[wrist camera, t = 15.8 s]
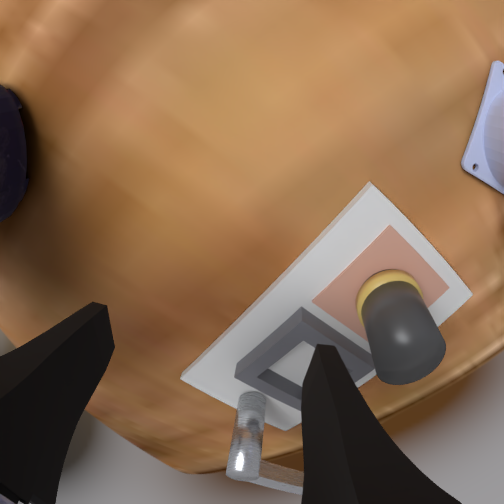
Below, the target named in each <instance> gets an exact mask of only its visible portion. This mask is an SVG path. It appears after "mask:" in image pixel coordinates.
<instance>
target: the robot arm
mask: <svg viewBox="0 0 504 504" xmlns="http://www.w3.org/2000/svg"><path fill="white" fill-rule="evenodd" d="M503 70H504V64H503V63H502V62H500V61H493V62H492V65H491V69H490V73H489V77H488V81H487V84H486V88H485V92H484V95H483V99H482V102H481V105H480V109H479V112H478V115H477V118H476V121H475V124H474V127H473V130H472V133H471V136H470V139H469V142H468V144H467V147H466V150H465V153H464V155H463V158H462V161H461V166H462V168H463V169H464V170H465V171H467V172H469V173H470V174H472V175H474V176H475V177H477V178H479V179H480V180H482V181H484V182H485V183H487V184H488V185H490V186H492V187H493V188H495V189H496V190H498V191H499V192H501V193H502V194H504V74H503ZM474 164H475V165H476V167H475V169H474V170H473V169H472V167H473V165H474ZM114 348H115V345H114V340H113V335H112V330H111V325H110V320H109V314H108V308H107V305H103V304H99V303H95V302H92V303H90V304H88V305H87V306H85V307H83V308H82V309H80V310H79V311H77V312H75V313H74V314H72V315H71V316H69V317H68V318H66V319H65V320H63V321H62V322H60V323H58V324H57V325H55V326H54V327H52V328H51V329H49V330H48V331H46V332H44V333H43V334H41V335H39V336H38V337H36V338H34V339H33V340H31V341H29V342H28V343H26V344H24V345H22V346H21V347H19V348H17V349H15V350H13V351H11V352H9V353H7V354H5V355H2V356H0V504H18V501H20V502H22V503H24V504H29V502H30V503H31V504H55V503H56V496H57V491H58V485H59V480H60V476H61V472H62V468H63V464H64V460H65V457H66V454H67V451H68V447H69V444H70V441H71V439H72V436H73V433H74V430H75V428H76V425H77V423H78V421H79V419H80V416H81V415H82V413H83V411H84V409H85V407H86V405H87V404H88V402H89V400H90V398H91V396H92V394H93V393H94V391H95V389H96V387H97V385H98V384H99V382H100V380H101V378H102V376H103V374H104V373H105V371H106V368H107V366H108V364H109V361H110V359H111V356H112V353H113V351H114ZM301 419H302V437H303V455H304V480H303V492H302V503H301V504H462V503H460V502H459V501H458V500H456V499H455V498H454V497H452V496H451V495H449V494H448V493H446V492H445V491H444V490H442V489H441V488H440V487H439V486H437V485H436V484H435V483H433V481H431V480H430V479H429V478H428V477H427V476H426V475H425V474H423V473H422V472H421V471H420V470H419V469H418V468H417V467H416V466H415V465H414V464H413V463H412V462H411V461H410V459H408V457H407V456H406V455H405V454H403V452H402V451H401V450H400V449H399V448H398V446H397V445H396V444H395V443H394V442H393V440H392V439H391V438H390V437H389V435H388V434H387V433H386V431H385V430H384V429H383V427H382V426H381V424H380V423H379V422H378V420H377V419H376V417H375V416H374V414H373V413H372V411H371V410H370V408H369V406H368V405H367V403H366V402H365V400H364V398H363V397H362V395H361V393H360V391H359V390H358V388H357V386H356V385H355V383H354V381H353V379H352V377H351V375H350V373H349V372H348V370H347V368H346V366H345V364H344V362H343V360H342V358H341V356H340V354H339V352H338V350H337V348H336V347H335V346H333V345H324V344H317V345H316V348H315V350H314V353H313V356H312V359H311V362H310V364H309V367H308V370H307V372H306V375H305V378H304V380H303V384H302V400H301Z"/></svg>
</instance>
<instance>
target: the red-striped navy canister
mask: <svg viewBox="0 0 504 504" xmlns="http://www.w3.org/2000/svg"><path fill="white" fill-rule="evenodd" d="M19 108H22V106H21V104H20V102H19V100H18V98H17V97H16V95H15V94H14V93H13V92H12V91H11V89H7V90H6V89H5V88H4V87H3V86H2V85H0V222H1V221H3V220H5V219H6V218H8V217H9V216H11V214H12V213H13V212H14V210H15V209H16V208H17V206H18V204H19V202H20V201H22V199H23V196H24V194H25V192H26V189H27V185H28V181H29V178H28V179H26V169H27V150H26V139H25V133H24V127H23V123H22V120H21V116H20V113H19V110H18V109H19Z"/></svg>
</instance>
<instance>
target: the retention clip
mask: <svg viewBox="0 0 504 504" xmlns="http://www.w3.org/2000/svg"><path fill="white" fill-rule="evenodd" d="M265 410H266V398H265V397H264V396H262V395H261V394H258V393H254V392H247V393H243V394H241V395H240V396H239V399H238V405H237V411H236V417H235V423H234V429H233V435H232V441H231V447H230V453H229V459H228V464H227V470H226V475H227V476H228V477H230V478H232V479H235V480H239V481H248V482H251V483H255V484H258V485H262V486H266V487H270V488H274V489H278V490H282V491H287V492H291V493H295V494H300V495H302V492H303V480H304V472H301V471H297V470H294V469H290V468H287V467H283V466H279V465H276V464H273V463H270V462H266V461H263V460H261V451H262V441H263V431H264V421H265Z"/></svg>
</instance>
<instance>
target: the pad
mask: <svg viewBox="0 0 504 504" xmlns="http://www.w3.org/2000/svg"><path fill="white" fill-rule="evenodd" d="M386 269H397V270H402V271H405V272H407V273H409V274H410V275H412V276H413V278H414V279H415V280H416V282H417V284H418V285H419V287H420V289H421V291H422V293H423V301H424V302H425V304H426V306H427V308H428V307H430V306H431V305H432V304H433V303H434V302H435V301H436V300H437V299H438V298H439V297H440V296H442V295H443V294H444V293H445V292H446V291H447V290H448V289H449V288H450V287H449V286H448V285H447V284H446V283H445V282H444V280H443V279H442V278H441V277H440V276H439V275H438V274H437V273H436V272H435V271H434V269H433V268H432V267H431V266H430V265H429V264H428V263H427V262H426V261H425V260H424V259H423V258H422V257H421V256H420V255H419V253H418V252H417V251H416V250H415V249H414V248H413V247H412V246H411V245H410V244H409V243H408V242H407V241H406V240H405V239H404V238H403V237H402V236H401V235H400V234H399V233H398V232H397V231H396V230H395V229H394V228H393V227H392V226H391V225H390V224H389V225H388V226H387V227H386V228H385V229H384V230H383V231H382V232H381V234H380V235H379V236H378V237H377V238H376V239H375V240H374V241H373V242H372V243H371V244H370V245H369V246H368V247H367V248H366V249H365V250H364V251H363V252H362V253H361V254H360V255H359V256H358V257H357V258H356V259H355V260H354V261H353V262H352V263H351V264H350V265H349V266H347V267H346V268H345V269H344V270H343V271H342V272H341V273H340V274H339V275H338V276H337V277H336V278H335V279H334V280H333V281H332V282H331V283H330V284H329V285H328V286H327V287H326V288H324V289H323V290H322V291H321V292H320V293H319V294H318V295H317V296H316V297H315V298H314V299H313V300H312V303H314V304H315V305H317V306H318V307H319V308H321V309H322V310H324V311H325V312H326V313H328V314H329V315H331V316H332V317H334V318H335V319H336V320H338V321H339V322H341V323H342V324H343V325H345V326H346V327H348V328H349V329H350V330H352V331H353V332H355V333H356V334H358V335H359V336H360V337H362V338H363V339H365V340H366V341H367V342H368V339H367V335H366V331H365V328H364V327H363V326H362V324H361V323H360V321H359V317H358V314H357V310H356V296H357V293H358V291H359V289H360V288H361V286H362V284H363V283H364V282H365V281H366V280H367V279H368V278H369V277H370V276H372V275H373V274H375V273H377V272H379V271H382V270H386Z"/></svg>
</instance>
